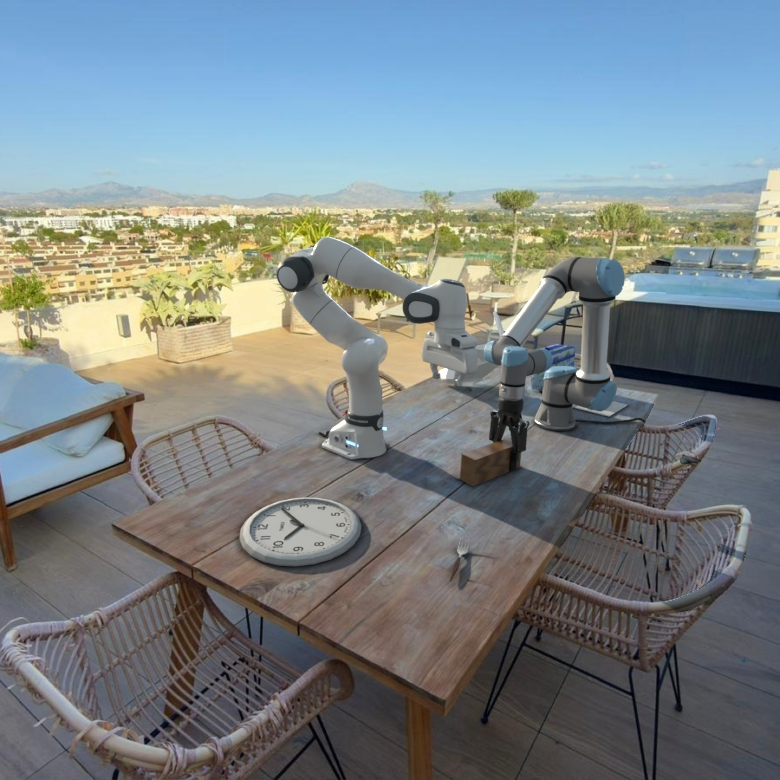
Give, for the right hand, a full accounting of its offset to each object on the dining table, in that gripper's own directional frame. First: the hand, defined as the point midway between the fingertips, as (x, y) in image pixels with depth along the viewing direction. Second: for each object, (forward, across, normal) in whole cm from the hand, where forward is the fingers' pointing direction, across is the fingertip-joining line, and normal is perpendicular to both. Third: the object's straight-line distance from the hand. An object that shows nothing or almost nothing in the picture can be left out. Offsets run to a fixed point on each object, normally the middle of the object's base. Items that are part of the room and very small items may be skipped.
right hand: (504, 466), depth 167 cm
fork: (+1, +26, -48) cm, 54 cm away
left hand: (-28, -10, -18) cm, 35 cm away
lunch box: (+1, -44, +86) cm, 97 cm away
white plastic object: (+1, -60, +53) cm, 80 cm away
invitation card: (+1, -15, +81) cm, 83 cm away
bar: (+1, 0, -7) cm, 7 cm away
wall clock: (+1, -7, -70) cm, 70 cm away
